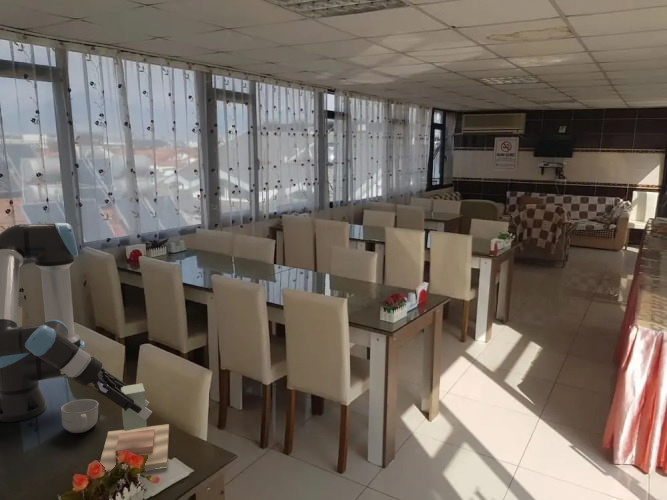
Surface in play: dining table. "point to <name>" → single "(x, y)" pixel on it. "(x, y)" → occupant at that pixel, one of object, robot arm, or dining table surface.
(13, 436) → the dining table surface
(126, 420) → the pillar block
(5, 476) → the dining table surface
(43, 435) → the dining table surface
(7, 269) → the robot arm
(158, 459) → the stand
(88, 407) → the teacup
